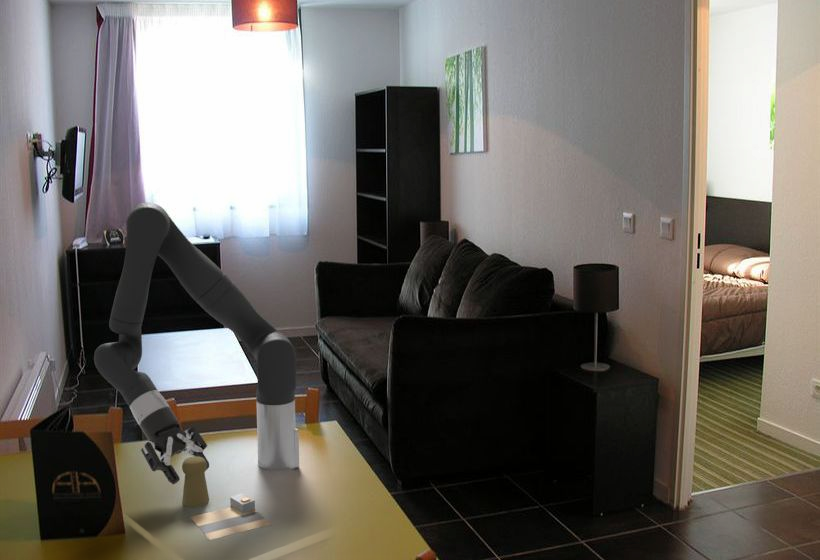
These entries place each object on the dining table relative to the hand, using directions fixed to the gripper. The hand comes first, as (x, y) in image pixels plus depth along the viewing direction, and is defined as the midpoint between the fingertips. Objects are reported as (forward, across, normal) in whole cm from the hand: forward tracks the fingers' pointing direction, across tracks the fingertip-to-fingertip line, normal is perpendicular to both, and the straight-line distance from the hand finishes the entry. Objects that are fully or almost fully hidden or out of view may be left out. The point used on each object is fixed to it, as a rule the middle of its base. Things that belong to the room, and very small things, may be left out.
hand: (191, 475), depth 182 cm
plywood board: (+15, -3, -5) cm, 16 cm away
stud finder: (+12, +3, -4) cm, 13 cm away
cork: (+6, 0, +4) cm, 7 cm away
